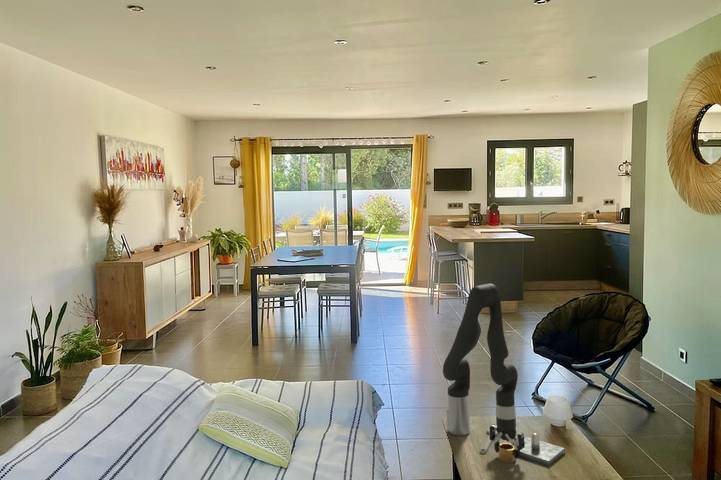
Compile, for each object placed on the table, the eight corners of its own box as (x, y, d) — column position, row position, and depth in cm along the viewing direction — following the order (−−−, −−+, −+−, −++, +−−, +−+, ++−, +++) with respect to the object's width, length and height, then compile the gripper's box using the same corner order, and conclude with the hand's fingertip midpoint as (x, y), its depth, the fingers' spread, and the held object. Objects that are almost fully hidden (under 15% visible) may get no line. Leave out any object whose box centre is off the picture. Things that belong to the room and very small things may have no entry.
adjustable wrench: (485, 455, 216) (485, 451, 216) (470, 452, 219) (470, 448, 219) (504, 431, 237) (504, 427, 237) (490, 428, 240) (490, 425, 240)
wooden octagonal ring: (495, 459, 211) (495, 447, 211) (504, 453, 216) (503, 441, 215) (510, 464, 207) (509, 451, 206) (518, 458, 211) (518, 446, 211)
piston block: (506, 452, 217) (506, 433, 216) (523, 440, 227) (523, 422, 226) (548, 466, 204) (548, 445, 203) (564, 452, 214) (564, 433, 213)
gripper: (485, 413, 212) (486, 453, 213) (517, 422, 202) (518, 463, 203) (495, 408, 217) (496, 446, 218) (527, 416, 207) (528, 456, 208)
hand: (507, 454), depth 211 cm, fingers open, 8 cm apart
